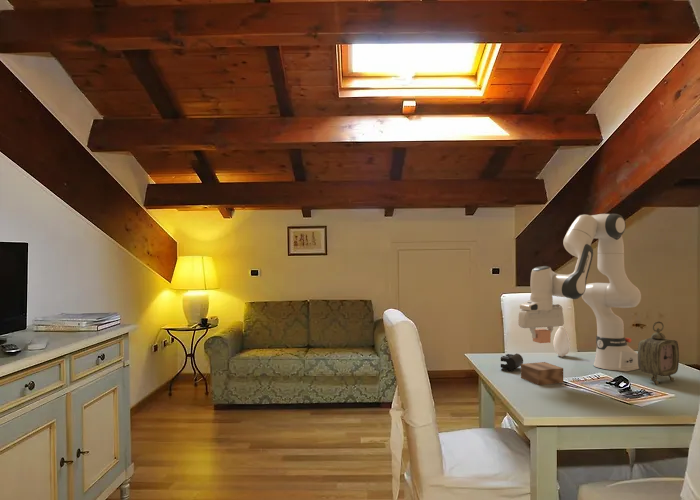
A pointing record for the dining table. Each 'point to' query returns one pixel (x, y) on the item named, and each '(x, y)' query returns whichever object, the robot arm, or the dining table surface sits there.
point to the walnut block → (542, 373)
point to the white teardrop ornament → (561, 342)
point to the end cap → (511, 362)
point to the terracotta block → (543, 336)
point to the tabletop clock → (658, 355)
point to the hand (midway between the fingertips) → (541, 337)
